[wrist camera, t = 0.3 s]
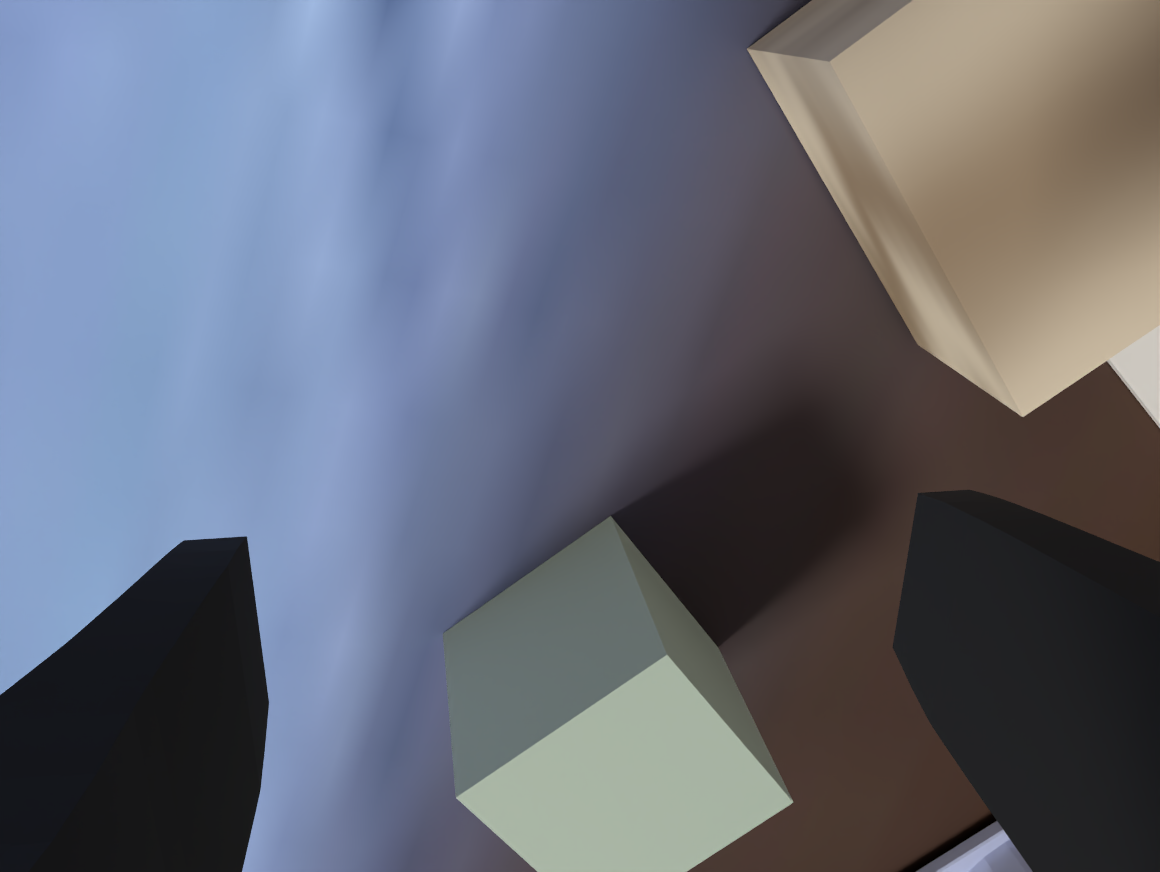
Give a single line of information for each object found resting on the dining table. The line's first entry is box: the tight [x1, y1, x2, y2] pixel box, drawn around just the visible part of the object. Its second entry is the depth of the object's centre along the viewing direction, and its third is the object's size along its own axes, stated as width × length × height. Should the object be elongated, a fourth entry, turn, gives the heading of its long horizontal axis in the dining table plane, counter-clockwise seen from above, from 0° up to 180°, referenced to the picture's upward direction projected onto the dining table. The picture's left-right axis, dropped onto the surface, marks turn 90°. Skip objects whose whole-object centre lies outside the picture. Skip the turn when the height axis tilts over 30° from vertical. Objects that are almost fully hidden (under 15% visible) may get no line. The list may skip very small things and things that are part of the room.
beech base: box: [747, 0, 1160, 417], centre depth 17 cm, size 7×7×4 cm
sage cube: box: [443, 516, 793, 872], centre depth 21 cm, size 4×4×5 cm
